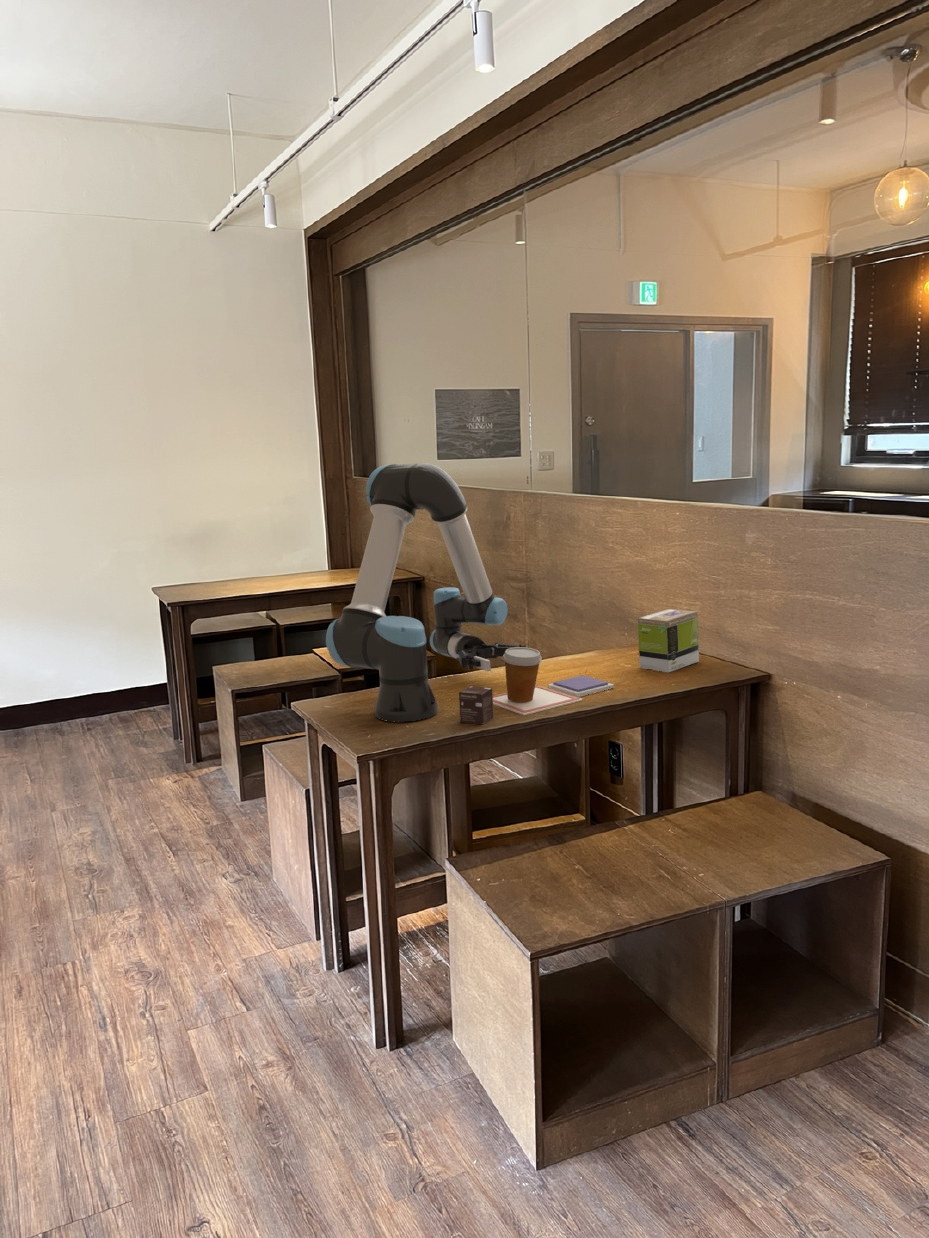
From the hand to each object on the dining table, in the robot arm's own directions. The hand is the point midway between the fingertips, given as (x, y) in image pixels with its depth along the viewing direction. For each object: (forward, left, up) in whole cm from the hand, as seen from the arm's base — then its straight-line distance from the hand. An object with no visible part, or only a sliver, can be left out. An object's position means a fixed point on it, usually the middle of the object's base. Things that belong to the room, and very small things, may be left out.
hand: (511, 661), depth 225 cm
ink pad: (+16, -8, -9) cm, 20 cm away
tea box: (+49, -7, -9) cm, 50 cm away
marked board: (0, -8, -9) cm, 12 cm away
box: (-19, -12, -9) cm, 24 cm away
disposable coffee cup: (-3, -7, -8) cm, 11 cm away
